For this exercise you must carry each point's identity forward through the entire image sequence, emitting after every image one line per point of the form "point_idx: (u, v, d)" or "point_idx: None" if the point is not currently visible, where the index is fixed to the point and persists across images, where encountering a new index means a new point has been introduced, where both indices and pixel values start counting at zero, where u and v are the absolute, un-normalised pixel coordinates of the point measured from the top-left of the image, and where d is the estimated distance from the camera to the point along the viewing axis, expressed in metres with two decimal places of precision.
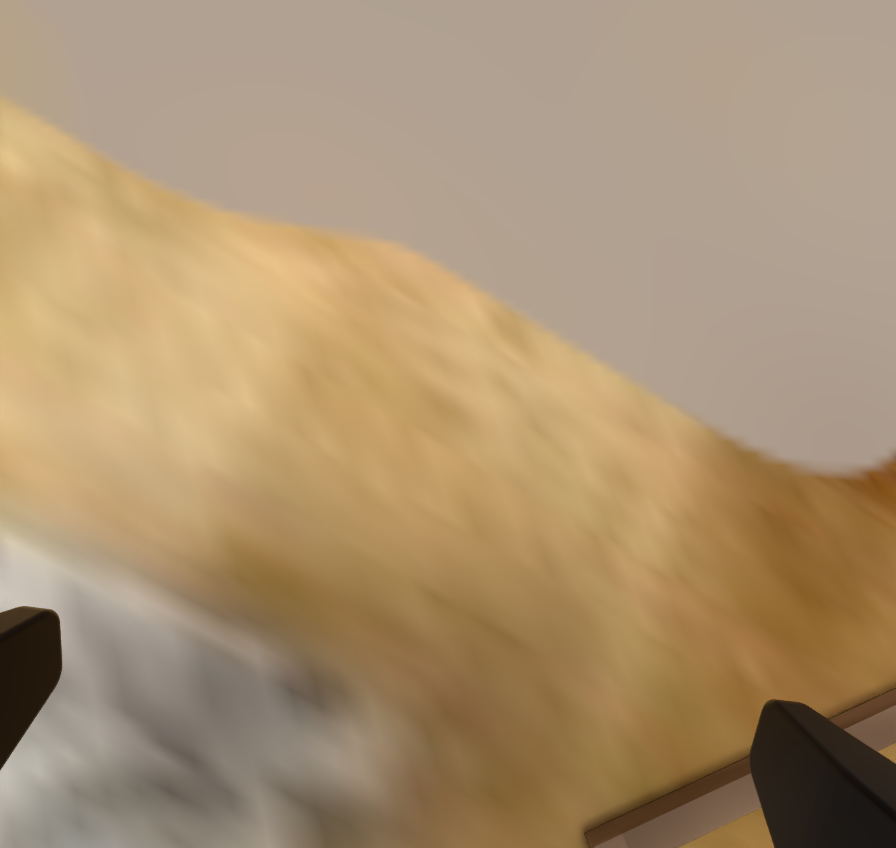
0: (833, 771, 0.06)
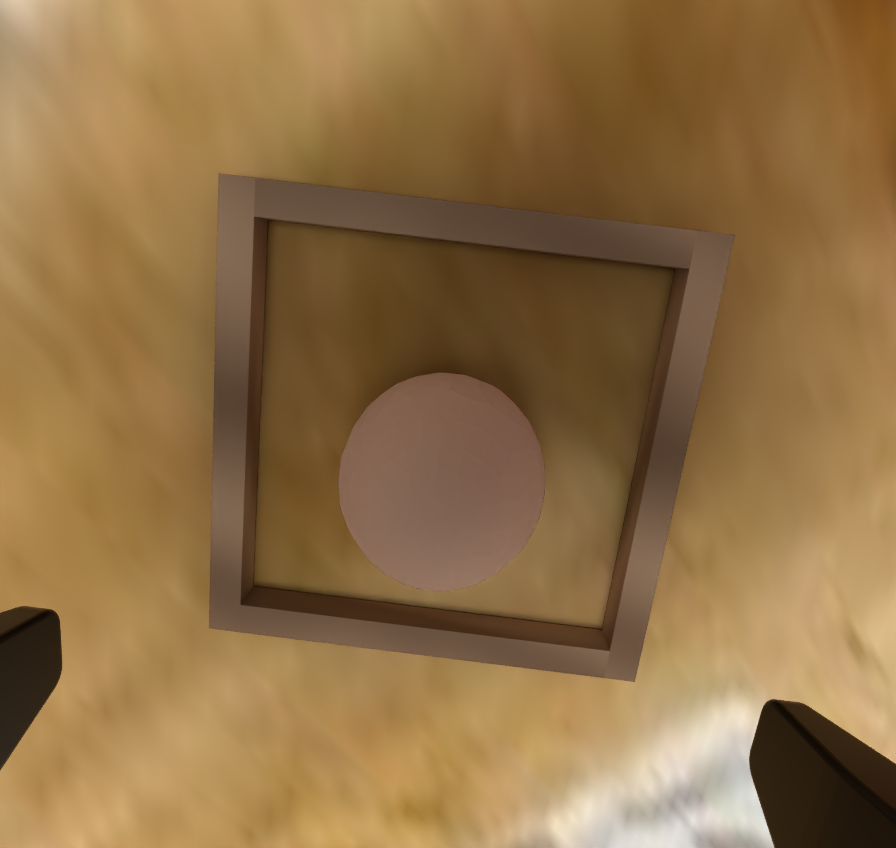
0: (833, 771, 0.06)
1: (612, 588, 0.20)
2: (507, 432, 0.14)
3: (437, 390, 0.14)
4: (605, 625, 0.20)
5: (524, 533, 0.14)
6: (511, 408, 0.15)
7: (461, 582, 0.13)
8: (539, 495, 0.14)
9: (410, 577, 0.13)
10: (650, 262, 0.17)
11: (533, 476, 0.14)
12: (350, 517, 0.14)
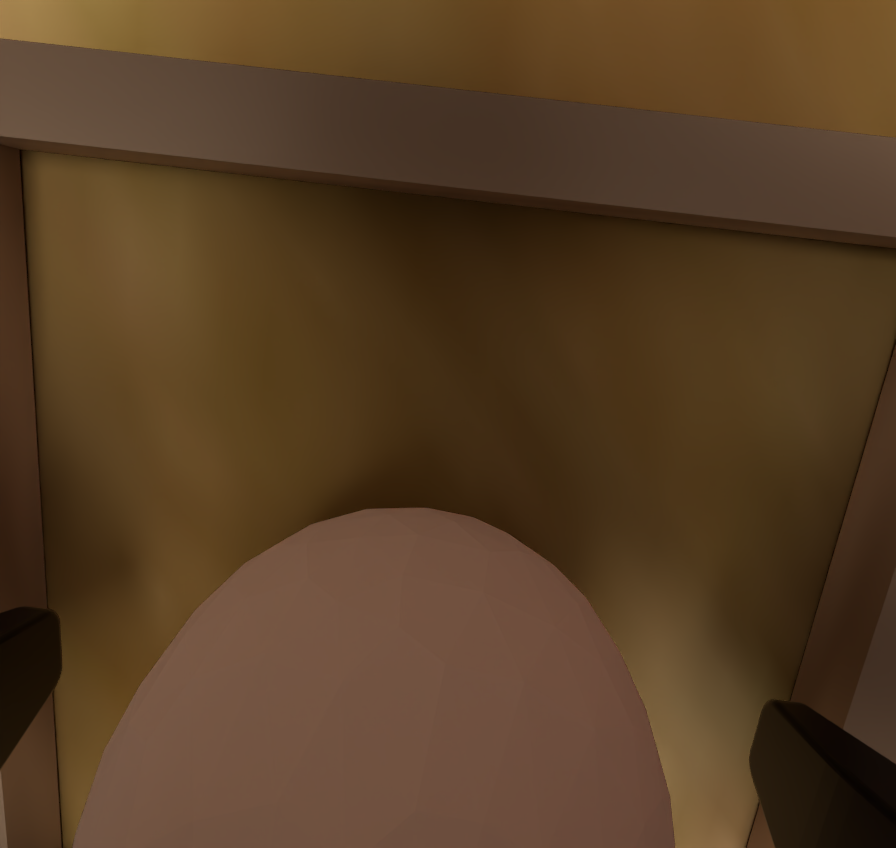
0: (833, 771, 0.06)
1: None
2: (583, 801, 0.04)
3: (356, 627, 0.05)
4: None
5: None
6: (581, 651, 0.05)
7: None
8: None
9: None
10: None
11: None
12: None
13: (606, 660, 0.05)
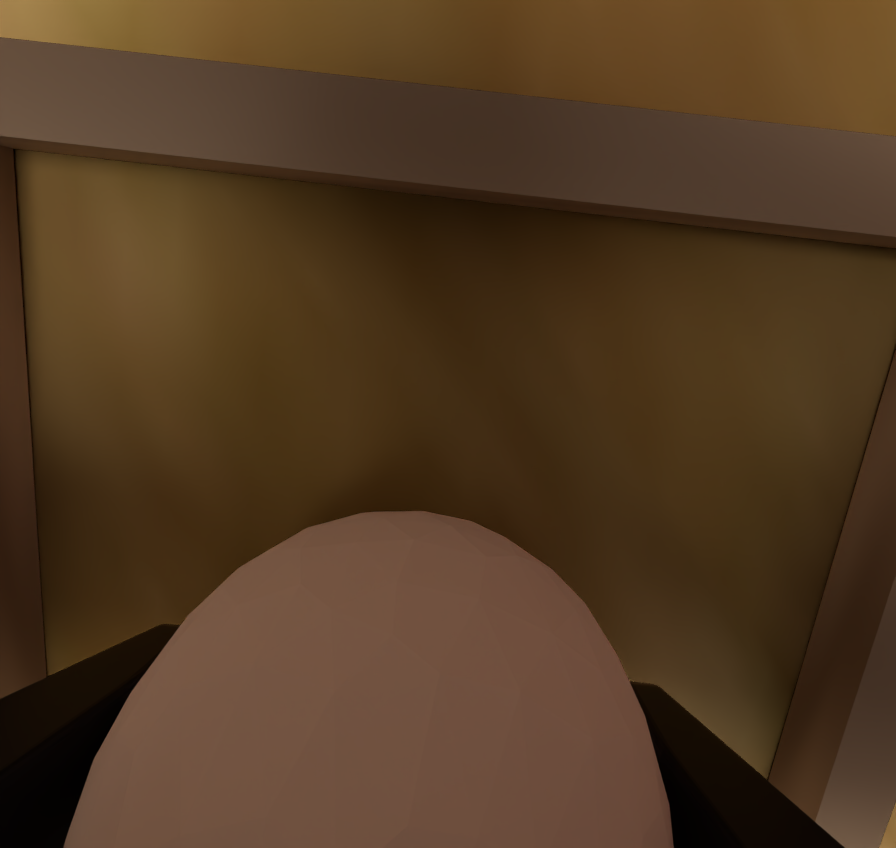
0: (658, 749, 0.06)
1: None
2: (582, 813, 0.04)
3: (350, 635, 0.04)
4: None
5: None
6: (579, 659, 0.05)
7: None
8: None
9: None
10: None
11: None
12: None
13: (605, 667, 0.05)
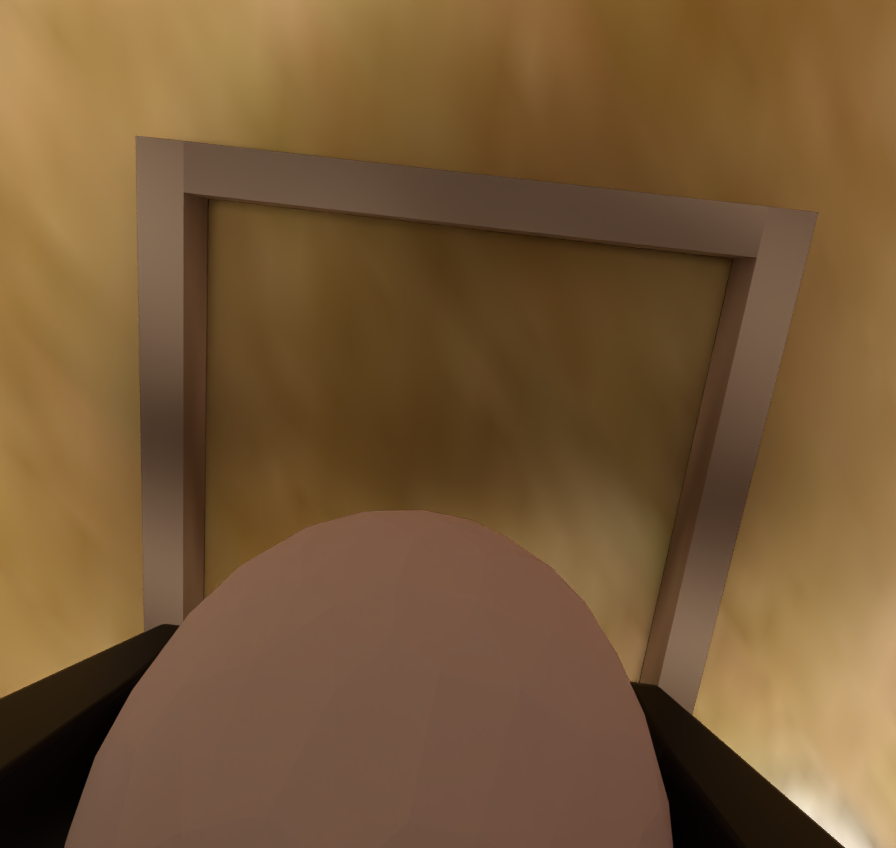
0: (658, 749, 0.06)
1: (648, 659, 0.16)
2: (580, 811, 0.04)
3: (349, 632, 0.04)
4: None
5: None
6: (578, 657, 0.05)
7: None
8: None
9: None
10: (705, 249, 0.13)
11: None
12: None
13: (604, 666, 0.05)
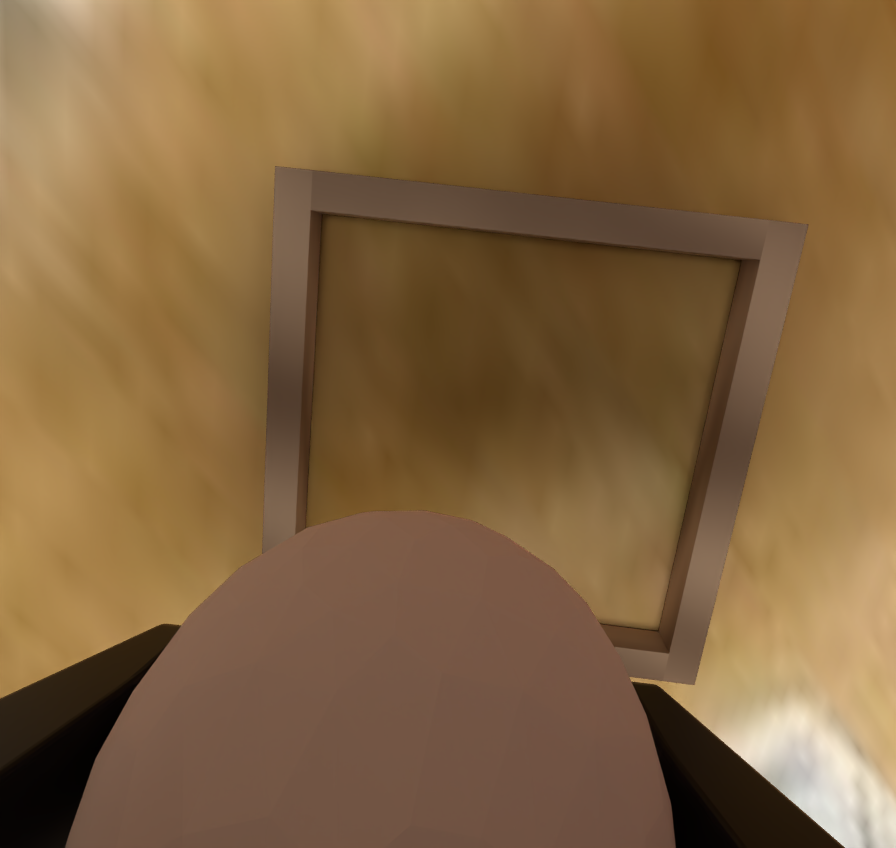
0: (658, 749, 0.06)
1: (671, 589, 0.20)
2: (584, 814, 0.04)
3: (351, 634, 0.04)
4: (663, 627, 0.20)
5: None
6: (581, 658, 0.05)
7: None
8: None
9: None
10: (719, 253, 0.16)
11: None
12: None
13: (606, 667, 0.05)
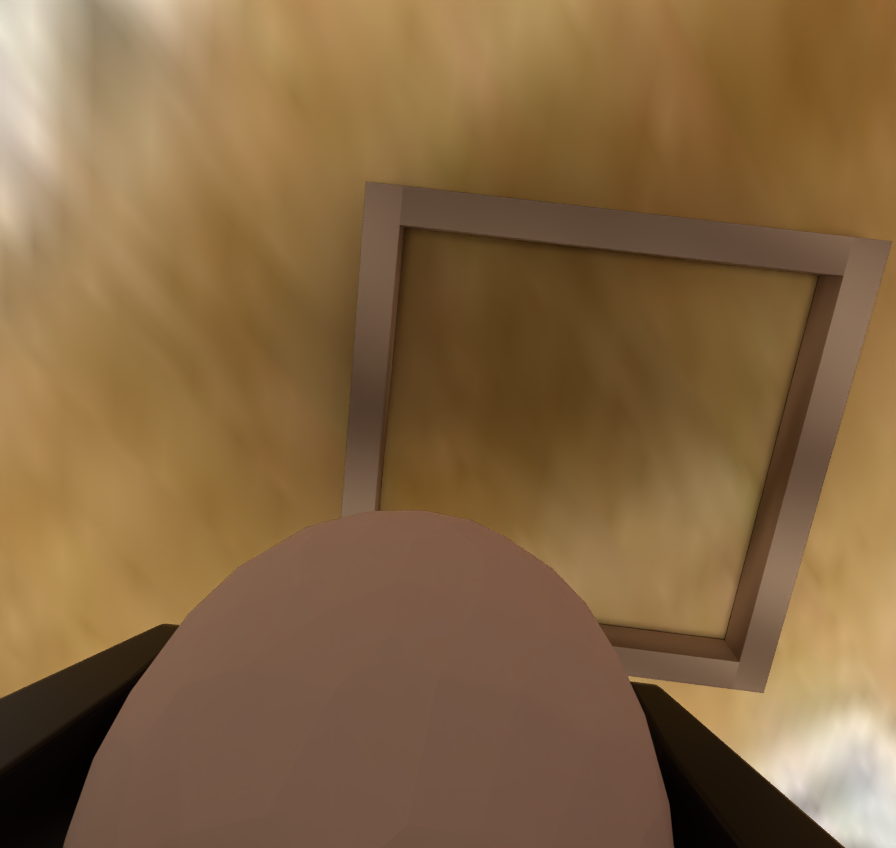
0: (658, 749, 0.06)
1: (739, 598, 0.20)
2: (580, 811, 0.04)
3: (350, 633, 0.04)
4: (730, 635, 0.20)
5: None
6: (579, 658, 0.05)
7: None
8: None
9: None
10: (803, 269, 0.16)
11: None
12: None
13: (605, 667, 0.05)
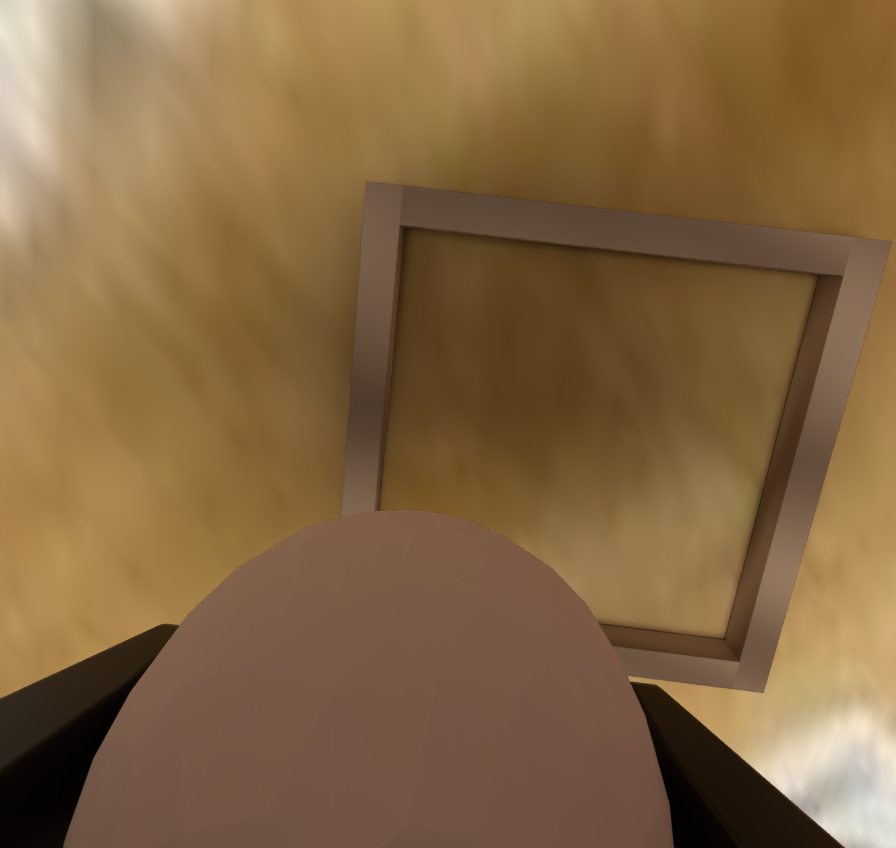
0: (658, 749, 0.06)
1: (739, 598, 0.20)
2: (580, 811, 0.04)
3: (350, 633, 0.04)
4: (730, 635, 0.20)
5: None
6: (579, 658, 0.05)
7: None
8: None
9: None
10: (803, 269, 0.16)
11: None
12: None
13: (605, 667, 0.05)
